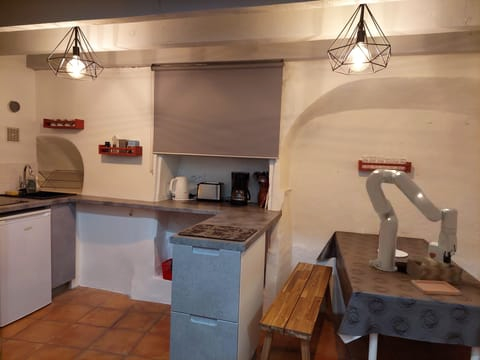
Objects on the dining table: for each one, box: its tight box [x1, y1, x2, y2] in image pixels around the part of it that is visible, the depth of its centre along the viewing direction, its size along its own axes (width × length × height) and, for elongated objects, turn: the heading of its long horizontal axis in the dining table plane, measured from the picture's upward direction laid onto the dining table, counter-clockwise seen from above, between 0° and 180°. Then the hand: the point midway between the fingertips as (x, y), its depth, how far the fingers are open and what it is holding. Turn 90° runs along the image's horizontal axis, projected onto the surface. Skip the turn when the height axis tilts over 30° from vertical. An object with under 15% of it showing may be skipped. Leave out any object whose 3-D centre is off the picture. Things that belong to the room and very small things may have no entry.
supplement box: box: [427, 241, 443, 261], centre depth 197 cm, size 9×9×15 cm
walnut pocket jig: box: [406, 258, 464, 285], centre depth 180 cm, size 22×14×8 cm, turn 89°
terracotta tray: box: [410, 279, 462, 296], centre depth 166 cm, size 18×13×2 cm
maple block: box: [421, 256, 449, 267], centre depth 180 cm, size 12×4×6 cm, turn 90°
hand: (446, 262), depth 179 cm, fingers closed
